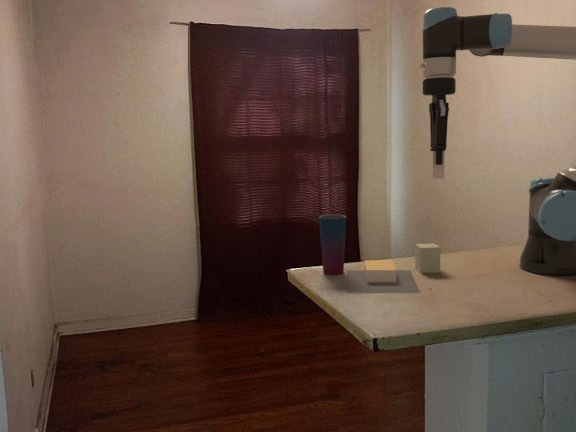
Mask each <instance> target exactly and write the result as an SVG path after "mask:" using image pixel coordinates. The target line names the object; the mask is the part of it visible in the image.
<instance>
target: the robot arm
mask: <svg viewBox="0 0 576 432" xmlns="http://www.w3.org/2000/svg"><path fill="white" fill-rule="evenodd" d="M457 13H458V11H457V9H456V8H455V7H453V6H452V7H451V6H446V7H445V6H442V7H440V6H439V7H434V8H430V9H427V10H425V13H424V14H423V25H422V26H423V28H422V63H420V66H419V68H421V69H422V76H423V77H424V79H423V80H422V95H423V96H431V97H432V98H431V102H430V103H429V104H428V112H429V124H430V125H429V128H430V134H429V135H430V152H431V179H432V180H433V179H436V180H437V179H445V151H446V150H447V137H448V136H447V135H448V123H449V122H448V120H449V119H448V118H449V111H450V108H449V107H450V106H449V105H450V103H449V102H447V96H451V95H454V94H456V84H457V83H456V82H457V81H456V78H455V76H456V74H457V51H469V52H470V53H471V54H472V55H474V56H475V57H479V58H480V57H481V58H483V57H488V56H496V57H516V58H517V57H520V58H537V59H541V58H542V59H555V60H556V59H557V60H572V61H573V60H575V61H576V26H564V25H561V26H560V25H542V24H541V25H540V24H539V25H537V24H535V25H534V24H533V25H532V24H513V18H512V17H513V16H511V14H510V13H497V12H494V13H490V14H479V15H478V14H477V15H476V14H475V15H467V16H461V15H458V14H457ZM528 194H529V204H528V205H529V206H528V207H529V208H528V234H527V239H526V243H525V245H524V247H523V250H522V252H521V255H520V258H519V267H520V269H522V270H525V271H526V272H531V273H534V274H535V273H536V274H540V275H548V276H549V275H550V276H551V275H552V276H572V275H576V158H574V161H573V162H572V164H571V165H570V167H569V168H567V169H562V170H559V171H558V172H557V174H556V176H555V177H549V178H548V177H546V178H545V177H544V178H543V177H542V178H534V179H532V180H531V182H530V184H529V189H528Z"/></svg>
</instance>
